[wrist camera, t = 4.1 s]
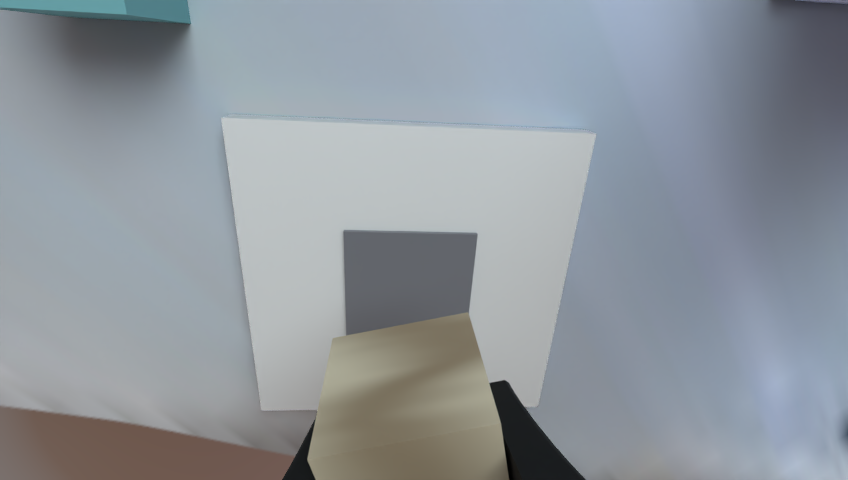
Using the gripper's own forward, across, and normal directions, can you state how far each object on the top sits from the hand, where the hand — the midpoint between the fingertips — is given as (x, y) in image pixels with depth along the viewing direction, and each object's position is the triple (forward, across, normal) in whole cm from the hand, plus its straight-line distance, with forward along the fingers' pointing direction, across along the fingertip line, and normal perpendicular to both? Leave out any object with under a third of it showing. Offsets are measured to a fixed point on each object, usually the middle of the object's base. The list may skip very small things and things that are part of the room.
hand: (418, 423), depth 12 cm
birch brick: (+2, 0, 0) cm, 2 cm away
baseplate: (+8, 0, 0) cm, 8 cm away
